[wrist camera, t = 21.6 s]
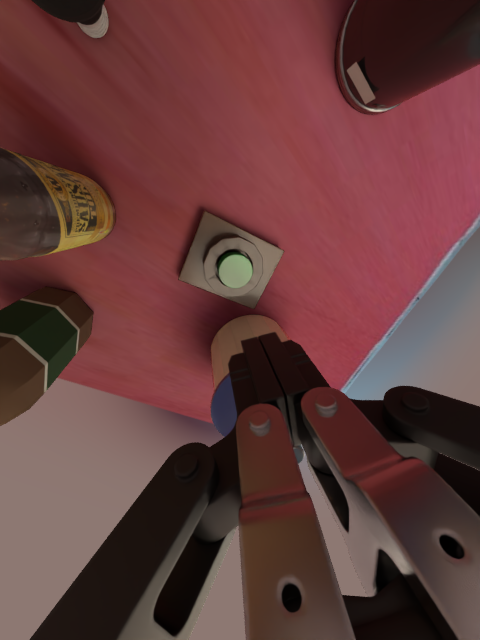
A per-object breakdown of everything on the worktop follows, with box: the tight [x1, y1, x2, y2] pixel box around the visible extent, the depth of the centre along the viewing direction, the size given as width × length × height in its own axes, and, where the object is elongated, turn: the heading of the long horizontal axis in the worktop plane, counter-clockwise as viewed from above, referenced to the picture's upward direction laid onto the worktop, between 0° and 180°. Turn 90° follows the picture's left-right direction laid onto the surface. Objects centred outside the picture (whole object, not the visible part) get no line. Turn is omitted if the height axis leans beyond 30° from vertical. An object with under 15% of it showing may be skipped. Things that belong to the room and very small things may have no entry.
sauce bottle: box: [0, 148, 116, 261], centre depth 16 cm, size 7×6×20 cm
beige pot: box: [211, 315, 291, 391], centre depth 31 cm, size 11×11×10 cm
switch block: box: [178, 211, 284, 309], centre depth 28 cm, size 8×10×4 cm
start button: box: [217, 251, 253, 288], centre depth 26 cm, size 4×4×2 cm
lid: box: [211, 373, 304, 464], centre depth 23 cm, size 12×12×7 cm
